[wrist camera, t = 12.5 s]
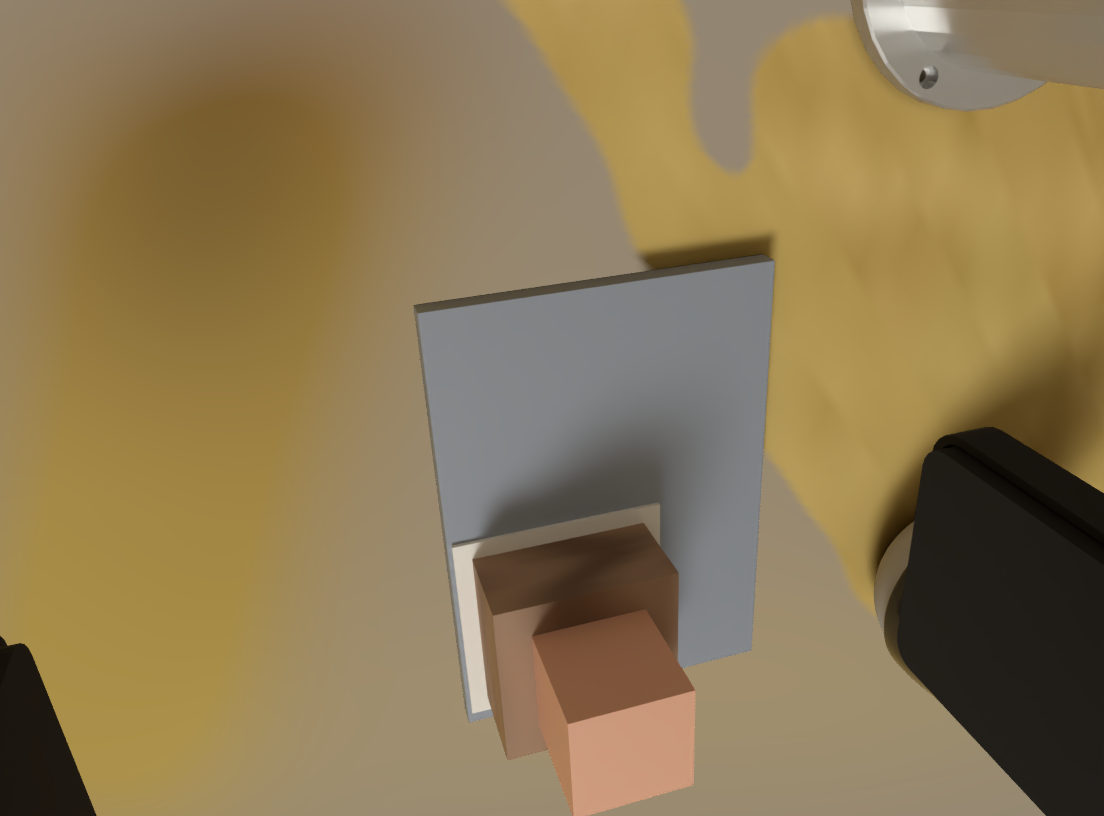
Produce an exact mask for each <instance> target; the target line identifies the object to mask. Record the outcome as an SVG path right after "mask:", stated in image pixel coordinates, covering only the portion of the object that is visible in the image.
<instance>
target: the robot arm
mask: <svg viewBox="0 0 1104 816" xmlns="http://www.w3.org/2000/svg"><path fill="white" fill-rule="evenodd" d="M851 5H852V10H853V15H854V20H855V24H856V27H857V29H858V32H859V34H860V37H861V39H862V42H863V45H864V47H865V50H866V52H867V53H868V55H869V56H870V58H871V59H872V61H873V62H874V64H875V65H876V67H877V68H878V70H879V71H880V73H881V74H882V75H883V76H884V77H885V78H886V79H887V80H888V81H890V82H891V83H892V84H893V85H894V86H895V87H896V88H897V89H898V90H899V91H901V92H903V93H904V94H906V95H908V96H910V97H912V98H913V99H915V100H917V101H919V102H921V103H925V104H929V105H933V106H937V107H941V108H945V109H953V110H961V111H975V110H984V109H993V108H996V107H999V106H1001V105H1004V104H1007V103H1010V102H1013V101H1016V100H1018V99H1020V98H1022V97H1024V96H1026V95H1027V94H1029V93H1031V92H1033V91H1034V90H1036V89H1038V88H1040V87H1042V86H1043V85H1044V84H1045V83H1047V82H1055V83H1062V84H1069V85H1076V86H1084V87H1091V88H1098V89H1104V0H851ZM897 644H898V649H899V652H900V655H901V657H902V659H903V661H904V663H905V664H906V666H907V667H908V668H909V669H910V671H911V672H912V673H913V674H914V675H915V676H916V677H917V678H918V679H919V680H920V681H921V682H922V683H923V684H924V686H925V687H926V688H927V689H928V690H929V691H930V692H931V693H932V694H933V695H934V696H935V697H936V698H937V699H938V701H940V703H941V704H943V706H944V707H945V708H946V709H947V710H948V711H949V712H950V713H951V714H952V715H953V716H954V718H955V719H956V720H957V721H958V722H959V723H960V724H961V725H962V726H963V727H964V728H965V729H966V730H967V732H968V733H969V734H970V735H971V736H972V737H973V738H974V739H975V740H976V741H977V742H978V743H979V744H980V745H981V747H982V748H983V749H984V750H985V751H986V752H987V753H988V754H989V755H990V756H991V757H992V758H993V759H994V760H995V762H996V763H997V764H998V765H999V766H1000V767H1001V768H1002V769H1003V770H1004V771H1005V772H1006V773H1007V774H1008V775H1009V776H1010V777H1011V779H1012V780H1013V781H1014V782H1015V783H1016V784H1017V785H1018V786H1019V787H1020V788H1021V789H1022V790H1023V791H1024V793H1026V795H1027V796H1028V797H1029V798H1030V799H1031V800H1032V801H1033V802H1034V803H1035V804H1036V805H1037V806H1038V808H1039V809H1040V810H1041V811H1042V812H1043V813H1044V814H1045V815H1046V816H1104V493H1102V492H1101V491H1099V490H1097V489H1096V488H1094V487H1092V486H1091V485H1089V484H1088V483H1086V482H1084V481H1083V480H1081V479H1080V478H1078V477H1076V476H1075V475H1073V474H1071V473H1070V472H1068V471H1067V470H1065V469H1063V468H1062V467H1060V466H1058V465H1057V464H1055V463H1054V462H1052V461H1050V460H1049V459H1047V458H1045V457H1044V456H1042V455H1041V454H1039V453H1037V452H1036V451H1034V450H1032V449H1031V448H1029V447H1028V446H1026V445H1024V444H1023V443H1021V442H1019V441H1018V440H1016V439H1015V438H1013V437H1011V436H1010V435H1008V434H1006V433H1005V432H1003V431H1002V430H999V429H997V428H994V427H984V428H979V429H974V430H969V431H965V432H960V433H955V434H950V435H945V436H944V437H942V438H940V439H939V440H938V441H937V442H936V444H935V445H934V448H933V451H932V452H930V453H928V455H927V456H926V457H925V459H924V463H923V467H922V474H921V480H920V487H919V493H918V500H917V506H916V513H915V520H914V526H913V533H912V539H911V546H910V553H909V559H908V566H907V572H906V579H905V586H904V592H903V599H902V605H901V612H900V619H899V625H898V632H897ZM0 816H96V813H95V811H94V808H93V806H92V803H91V801H90V799H89V796H88V793H87V791H86V788H85V786H84V784H83V781H82V779H81V776H80V773H79V771H78V769H77V766H76V763H75V761H74V758H73V756H72V753H71V751H70V749H69V746H68V743H67V741H66V738H65V736H64V734H63V731H62V729H61V726H60V724H59V721H58V719H57V716H56V714H55V711H54V709H53V706H52V704H51V701H50V699H49V696H48V694H47V691H46V689H45V686H44V684H43V681H42V679H41V676H40V674H39V671H38V669H37V666H36V664H35V661H34V659H33V656H32V654H31V652H30V650H29V649H28V647H27V646H26V645H25V644H21V643H19V644H14V645H9V646H7V644H6V642H5V640H4V639H3V638H2V637H1V636H0Z"/></svg>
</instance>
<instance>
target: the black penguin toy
mask: <svg viewBox="0 0 1104 816" xmlns="http://www.w3.org/2000/svg"><path fill="white" fill-rule="evenodd" d="M913 526H914V521H913V522H912V523H911V524H909V525H908V526H907V527H906V528H905V529H904V530H903V531H902V532H900V533H899V535H898V536H897V537H896V538H895V539H894V540H893V542H892V543H891V544H890V546H889V547H888V549H887V550H886V552H885V554H884V556H883V558H882V560H881V562H880V565H879V567H878V571H877V574H876V579H875V586H874V602H875V609H876V614H877V617H878V621H879V624H880V626H881V628H882V630H883V633H884V637H885V642H886V645H887V648H888V651H889V652H890V654H891V656H892V657H893V659H894V660H895V661H896V663H897V664H898V665H899V666H900V667H901V668H902V669H903V670H904V671H905V672H906V673H907V674H908V675H909V676H910V677H911V678H912V679H913V680H914V681H915V682H916V683H918V684H919V685H920V686H921V687H923V688H924V689H925V690H926V691H927V692H929V693H930V694H931V695H932V696H934V695H933V694H932V693H931V692H930V691H929V690H928V689H927V688H926V687H925V686H924V684H923V683H922V682H921V681H920V680H919V679H918V678H917V677H916V676H915V675H914V674H913V673H912V672H911V671H910V669H909V668H908V667H907V666H906V664H905V663H904V661H903V659H902V657H901V655H900V652H899V649H898V644H897V632H898V625H899V619H900V612H901V605H902V599H903V592H904V586H905V579H906V572H907V566H908V559H909V553H910V546H911V539H912V533H913ZM934 697H935V696H934ZM935 698H936V697H935ZM936 699H937V698H936ZM937 700H938V699H937Z"/></svg>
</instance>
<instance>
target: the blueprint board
mask: <svg viewBox="0 0 1104 816" xmlns="http://www.w3.org/2000/svg"><path fill="white" fill-rule="evenodd" d="M774 264H775V261H774V260H772V259H771V258H769V257H767V256H765V255H764V254H762V255H755V256H748V257H741V258H734V259H727V260H720V261H713V262H707V263H700V264H693V265H686V266H679V267H672V268H665V269H658V270H652V271H645V272H638V273H631V274H624V275H618V276H610V277H603V278H597V279H590V280H583V281H576V282H570V283H562V284H556V285H549V286H542V287H535V288H528V289H521V290H514V291H507V292H501V293H494V294H487V295H480V296H473V297H466V298H459V299H452V300H445V301H439V302H432V303H425V304H418V305H414V313H415V321H416V328H417V336H418V344H419V352H420V360H421V367H422V375H423V383H424V390H425V399H426V407H427V415H428V422H429V430H430V437H431V446H432V454H433V462H434V469H435V476H436V485H437V493H438V501H439V508H440V516H441V523H442V532H443V540H444V548H445V555H446V563H447V571H448V579H449V586H450V594H451V602H452V610H453V617H454V626H455V634H456V641H457V649H458V657H459V665H460V672H461V681H462V689H463V696H464V704H465V710H466V713H467V717H468V720H469V722H473V721H477V720H481V719H485V718H489V717H492V716H493V713H492V709H491V706H490V703H489V700H488V696H487V688H486V679H485V670H484V661H483V652H482V643H481V634H480V625H479V616H478V607H477V598H476V589H475V580H474V571H473V562H472V559H477V558H481V557H486V556H491V555H495V554H500V553H505V552H509V551H514V550H519V549H523V548H528V547H533V546H538V545H542V544H547V543H552V542H556V541H561V540H566V539H570V538H575V537H580V536H584V535H589V534H594V533H598V532H603V531H608V530H612V529H617V528H622V527H627V526H631V525H636V524H641V523H644V524H645V525H646V527H647V528H648V530H649V531H650V533H651V534H652V535H653V537H654V538H655V540H656V541H657V543H658V544H659V545H660V547H661V548H662V550H663V551H664V553H665V554H666V555H667V557H668V558H669V560H670V561H671V563H672V564H673V565H674V567H675V568H676V570H677V571H678V573H679V607H678V663H679V664H680V666H681V668H685V667H689V666H692V665H696V664H700V663H704V662H708V661H712V660H715V659H720V658H723V657H728V656H732V655H735V654H739V653H743V652H747V651H751V647H752V631H753V613H754V597H755V581H756V564H757V563H756V562H757V547H758V529H759V512H760V497H761V479H762V464H763V463H762V462H763V447H764V431H765V414H766V397H767V381H768V364H769V347H770V331H771V314H772V297H773V281H774Z"/></svg>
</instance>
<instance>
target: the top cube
mask: <svg viewBox="0 0 1104 816" xmlns="http://www.w3.org/2000/svg"><path fill="white" fill-rule="evenodd" d="M532 647H533V658H534V670H535V682H536V694H537V706H538V718H539V727H540V730H541V732H542V735H543V738H544V740H545V743H546V746H547V749H548V751H549V754H550V756H551V759H552V762H553V765H554V767H555V770H556V772H557V775H558V778H559V781H560V783H561V786H562V788H563V791H564V794H565V797H566V799H567V802H568V805H569V808H570V810H571V813H572V816H588V815H591V814H595V813H599V812H602V811H605V810H609V809H612V808H616V807H619V806H622V805H626V804H629V803H633V802H636V801H639V800H643V799H646V798H650V797H654V796H657V795H660V794H664V793H667V792H670V791H674V790H677V789H681V788H684V787H688V786H691V785H693V784H694V783H693V782H694V735H695V734H694V733H695V689H694V687H693V686H692V684H691V682H690V681H689V679H688V678H687V676H686V674H685V673H684V671H683V669H682V668H681V666H680V664H679V663H678V661H677V659H676V658H675V656H674V654H673V653H672V651H671V650H670V648H669V646H668V645H667V643H666V641H665V640H664V638H663V636H662V635H661V633H660V631H659V630H658V628H657V627H656V625H655V623H654V622H653V620H652V618H651V617H650V615H649V613H648V612H647V610H646V609H644V610H640V611H636V612H632V613H627V614H623V615H619V616H615V617H611V618H607V619H602V620H598V621H594V622H590V623H586V624H582V625H577V626H573V627H569V628H565V629H561V630H557V631H552V632H548V633H544V634H540V635H536V636H532Z"/></svg>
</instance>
